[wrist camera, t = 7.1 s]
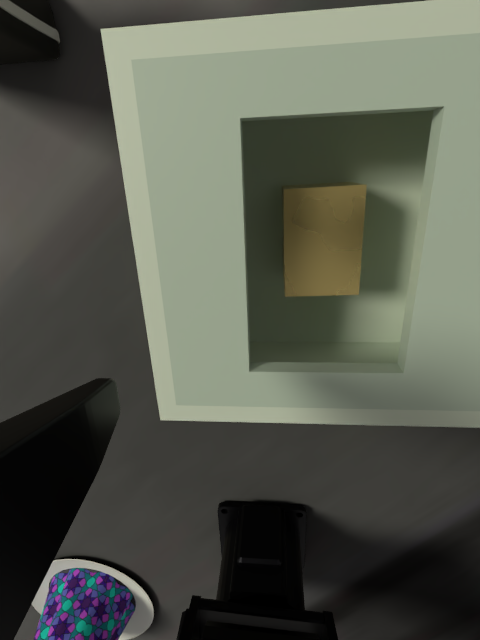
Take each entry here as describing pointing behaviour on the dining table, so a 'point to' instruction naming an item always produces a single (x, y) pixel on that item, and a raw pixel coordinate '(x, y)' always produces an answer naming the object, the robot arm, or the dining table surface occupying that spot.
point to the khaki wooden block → (322, 238)
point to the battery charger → (27, 32)
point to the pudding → (90, 604)
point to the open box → (266, 210)
